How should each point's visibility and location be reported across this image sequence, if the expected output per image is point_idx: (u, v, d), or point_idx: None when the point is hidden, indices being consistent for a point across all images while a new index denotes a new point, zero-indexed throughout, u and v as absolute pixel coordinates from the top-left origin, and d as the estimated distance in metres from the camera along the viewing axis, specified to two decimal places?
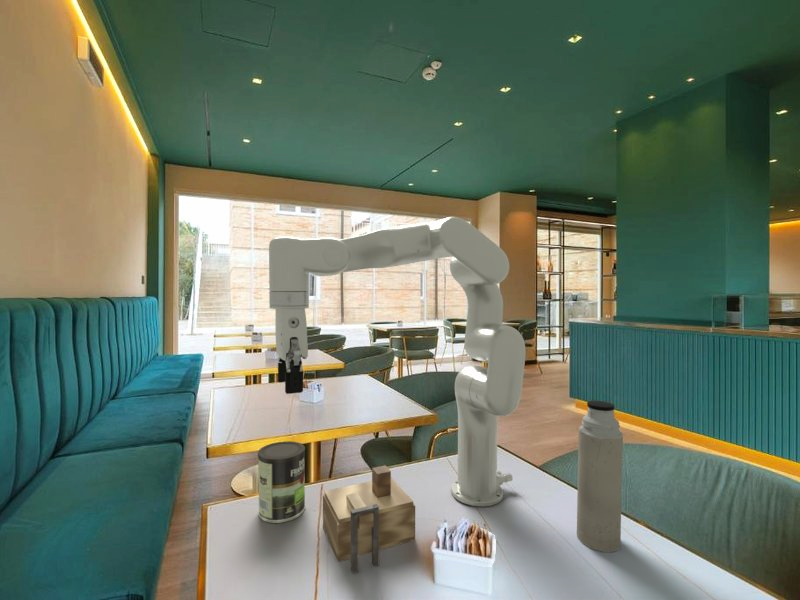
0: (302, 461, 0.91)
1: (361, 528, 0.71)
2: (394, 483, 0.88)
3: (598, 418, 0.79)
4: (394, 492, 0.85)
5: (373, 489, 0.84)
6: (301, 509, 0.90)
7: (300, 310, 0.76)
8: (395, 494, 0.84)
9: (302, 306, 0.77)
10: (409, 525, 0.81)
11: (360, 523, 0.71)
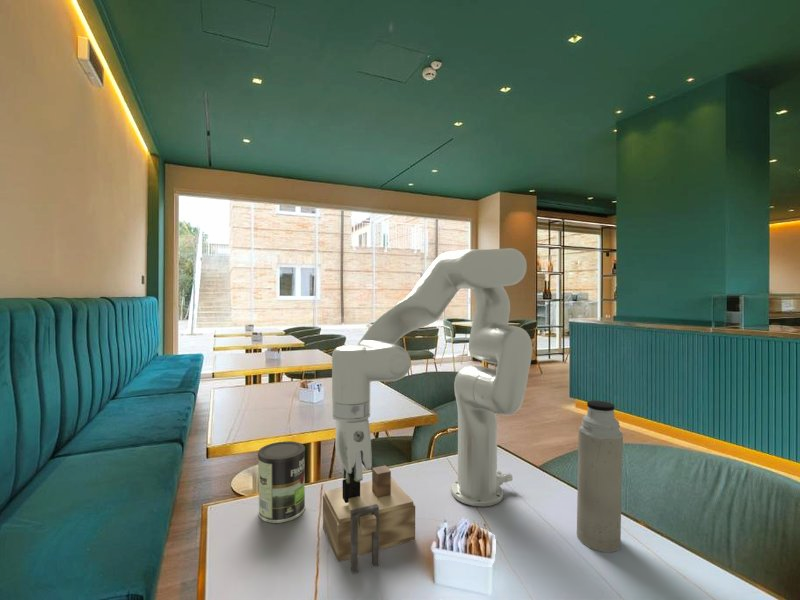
0: (302, 461, 0.91)
1: (364, 533, 0.70)
2: (394, 483, 0.88)
3: (598, 418, 0.79)
4: (394, 492, 0.85)
5: (373, 489, 0.84)
6: (301, 509, 0.90)
7: (365, 423, 0.76)
8: (395, 494, 0.84)
9: (365, 417, 0.77)
10: (409, 525, 0.81)
11: (363, 527, 0.70)
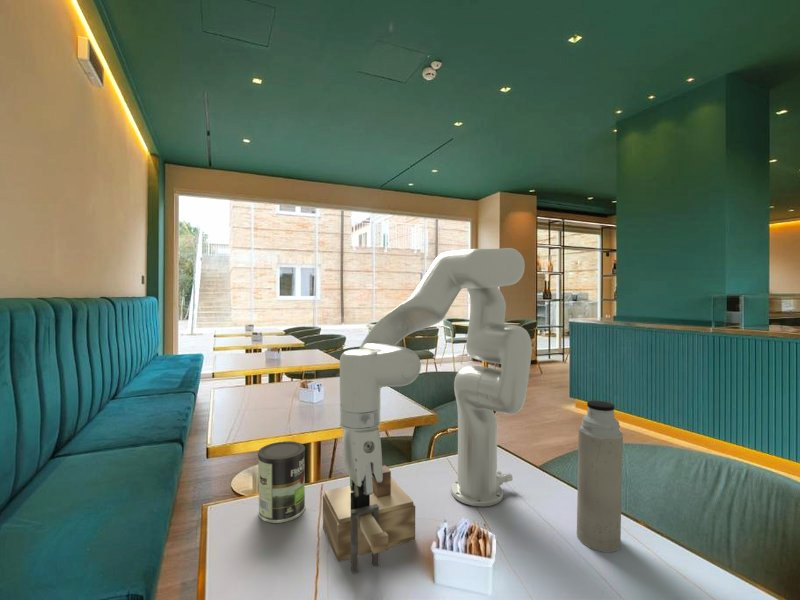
0: (302, 461, 0.91)
1: (375, 551, 0.65)
2: (394, 483, 0.88)
3: (598, 418, 0.79)
4: (394, 492, 0.85)
5: (373, 489, 0.84)
6: (301, 509, 0.90)
7: (375, 432, 0.71)
8: (395, 494, 0.84)
9: (376, 426, 0.72)
10: (409, 525, 0.81)
11: (374, 546, 0.65)
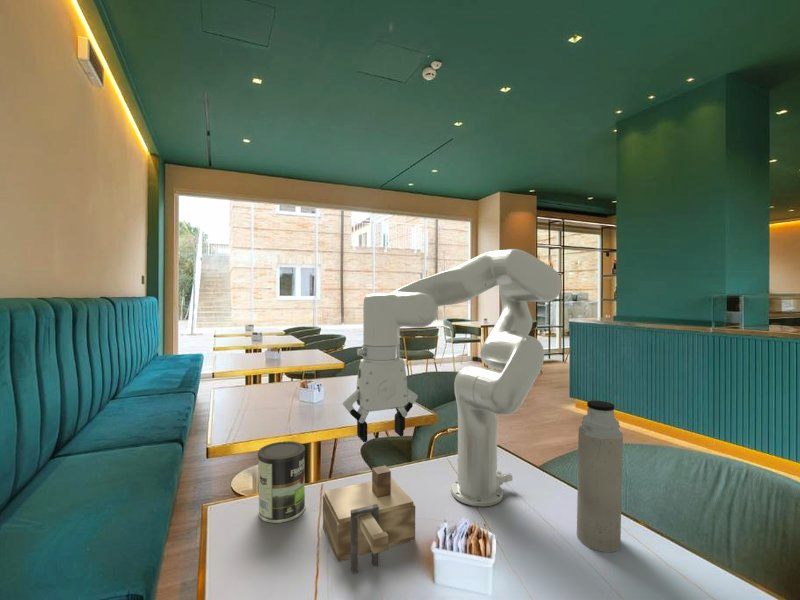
0: (302, 461, 0.91)
1: (375, 552, 0.65)
2: (394, 483, 0.88)
3: (598, 418, 0.79)
4: (394, 492, 0.85)
5: (373, 489, 0.84)
6: (301, 509, 0.90)
7: (363, 363, 0.80)
8: (395, 494, 0.84)
9: (370, 360, 0.80)
10: (409, 525, 0.81)
11: (374, 546, 0.65)
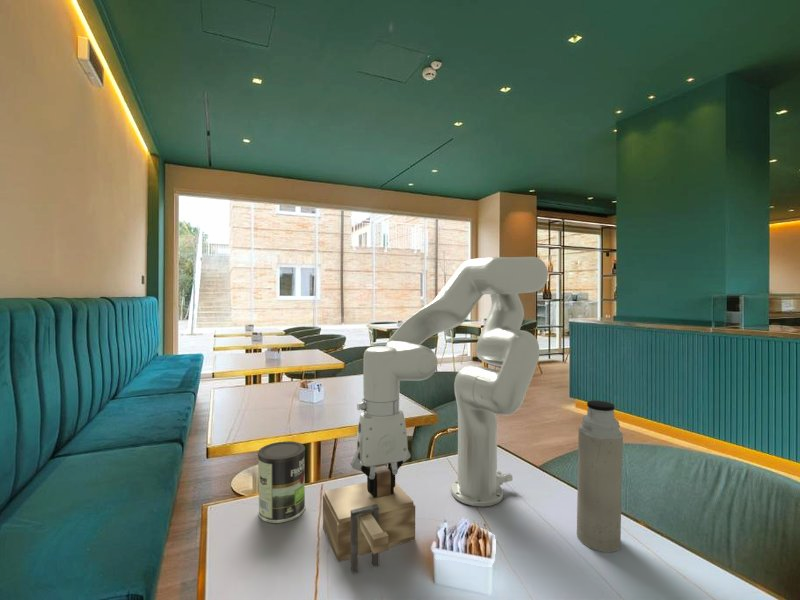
0: (302, 461, 0.91)
1: (375, 552, 0.65)
2: None
3: (598, 418, 0.79)
4: (394, 492, 0.85)
5: None
6: (301, 509, 0.90)
7: (363, 419, 0.81)
8: (395, 494, 0.84)
9: (370, 415, 0.81)
10: (409, 525, 0.81)
11: (374, 546, 0.65)
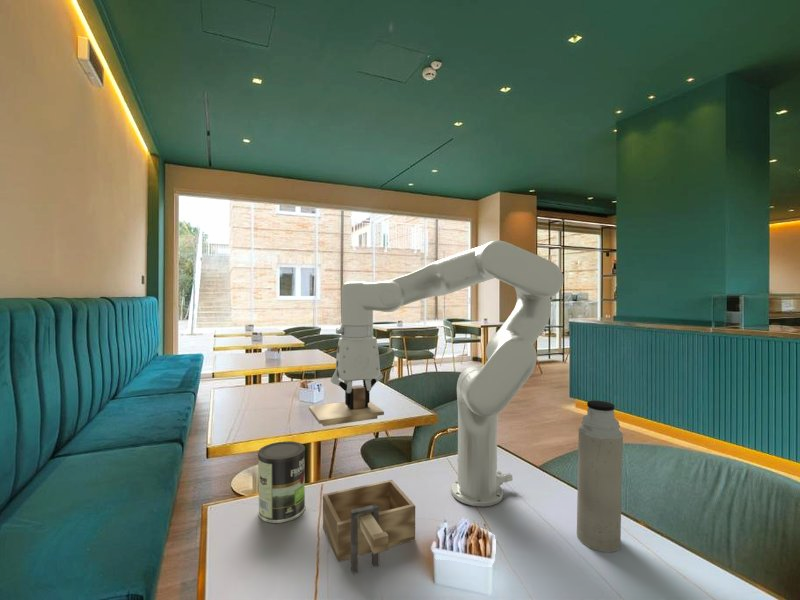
0: (302, 461, 0.91)
1: (375, 552, 0.65)
2: (369, 402, 1.03)
3: (598, 418, 0.79)
4: (369, 407, 0.99)
5: None
6: (301, 509, 0.90)
7: (341, 340, 0.95)
8: (369, 408, 0.98)
9: (346, 338, 0.95)
10: (409, 525, 0.81)
11: (374, 546, 0.65)
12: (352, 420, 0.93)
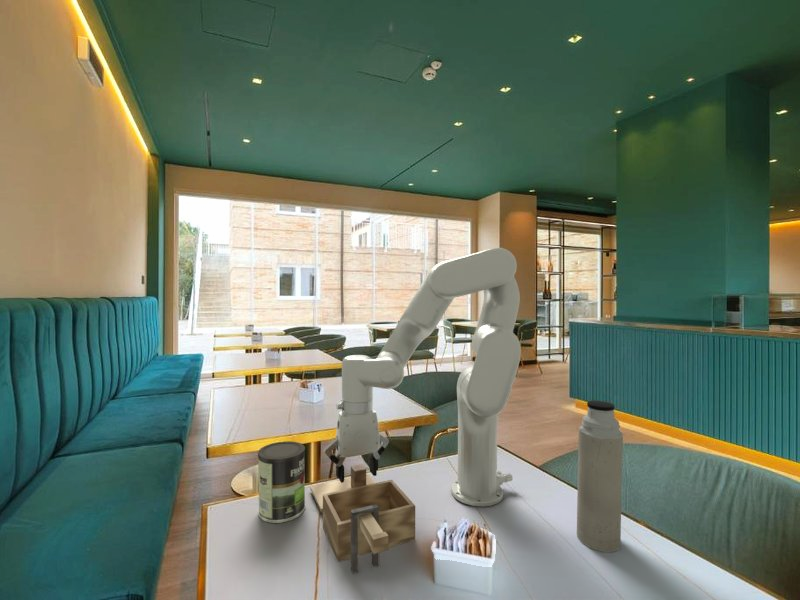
0: (302, 461, 0.91)
1: (375, 552, 0.65)
2: (370, 479, 1.03)
3: (598, 418, 0.79)
4: None
5: (351, 484, 0.99)
6: (301, 509, 0.90)
7: (341, 417, 0.95)
8: None
9: (347, 414, 0.95)
10: (409, 525, 0.81)
11: (374, 546, 0.65)
12: None
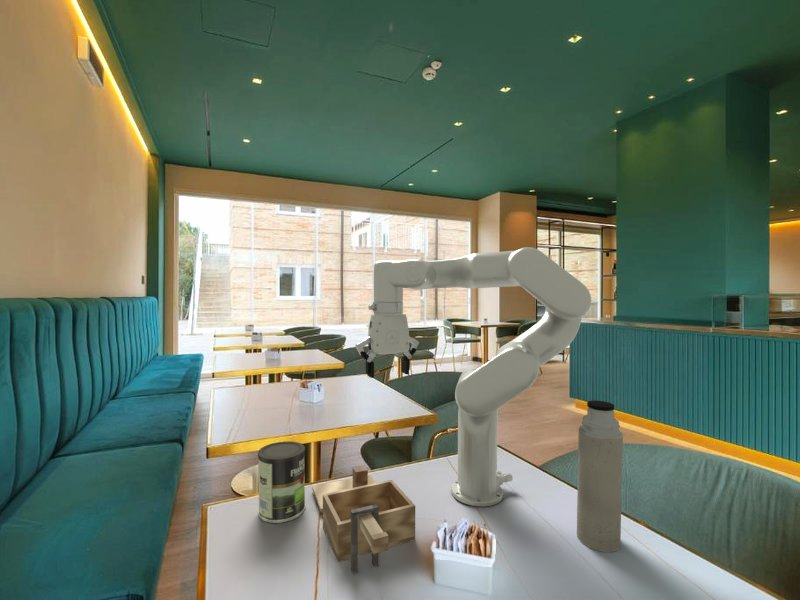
0: (302, 461, 0.91)
1: (375, 552, 0.65)
2: (372, 480, 1.03)
3: (598, 418, 0.79)
4: None
5: (353, 485, 0.99)
6: (301, 509, 0.90)
7: (373, 316, 1.00)
8: None
9: (379, 313, 1.00)
10: (409, 525, 0.81)
11: (374, 546, 0.65)
12: None
